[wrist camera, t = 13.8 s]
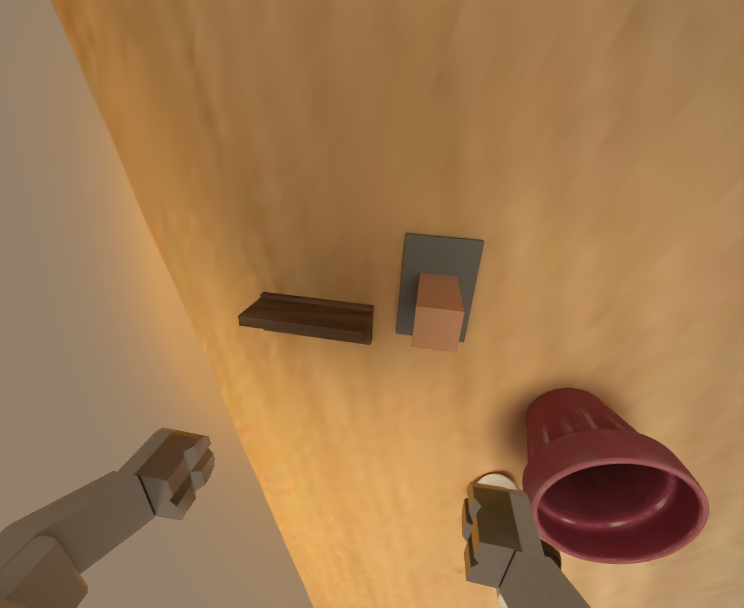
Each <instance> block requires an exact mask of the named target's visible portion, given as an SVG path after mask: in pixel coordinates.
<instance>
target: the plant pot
mask: <svg viewBox="0 0 744 608" xmlns="http://www.w3.org/2000/svg"><path fill="white" fill-rule="evenodd" d="M526 427H527V451H528V463H527V465H526V467H525V469H524V473H523V479H522V484H523V491H525V492H526V494H527V495H528V498H529V502H530V505H531V509H532V512H533V516H534V520H535V523H536V527H537V530H538V532H539V534H540V535H541V536H542V537H543V538H544V539H545V540H546V541H547V542H548V543H550V544H551V545H552V546H554V547H555V548H557V549H559V550H560V551H562V552H564V553H566V554H569V555H571V556H574V557H577V558H580V559H583V560H588V561H592V562H598V563H607V564H632V563H640V562H646V561H651V560H655V559H658V558H662V557H665V556H667V555H670V554H672V553H674V552H676V551H678V550H680V549H682V548H683V547H685V546H686V545H688V544H689V543H690V542H692V541H693V540H694V539H695V538H696V537H697V536H698V535H699V534H700V532H701V531H702V529H703V528H704V526H705V524H706V522H707V519H708V516H709V503H708V499H707V496H706V494H705V493H704V491H703V489H702V488H701V486H700V485H699V483H698V482H697V481H696V480H695V478H694V477H693V476H692V475H691V473H690V472H689V471H688V470H687V468H686V467H685V466H684V465H683V464H682V463H681V461H680V460H679V459H678V458H677V457H676V456H675V455H674V454H673V453H672V452H671V451H670V450H669V449H668V448H667V447H666V446H664V445H663V444H661V443H660V442H658V441H656V440H654V439H652V438H650V437H648V436H645V435H643V434H639V433H638V432H637V431H636V430H635V429H634V428H632V427H631V426H630V425H629V424H628V423H627V422H626V421H624V420H623V419H622V418H621V417H619V416H618V415H617V414H616V413H615V412H613V411H612V410H611V409H610V408H609V407H607V406H606V405H605V404H604V403H603V402H601V401H600V400H599V399H598V398H597V397H595V396H594V395H592V394H590V393H588V392H585V391H582V390H577V389H560V390H555V391H552V392H549V393H546V394H544V395H543V396H541V397H539V398H538V399H537V400H536V401H534V402H533V404H532V405H531V406H530V408H529V409H528V412H527V416H526Z"/></svg>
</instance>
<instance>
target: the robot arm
mask: <svg viewBox="0 0 744 608" xmlns="http://www.w3.org/2000/svg"><path fill="white" fill-rule="evenodd" d="M210 444H211V442H210V439H209V437H208V436H204V435H199V434H194V433H189V432H184V431H179V430H174V429H168V428H161V429H159V430H157V431H156V432H155V433H154V434H153V435H152V436H151V437H150V438H149V439H148V440H147V442H145V443H144V445H143V446H142V447H141V448H140V449H139V450H138V451H137V452H136V453H135V454H134V455H133V456H132V457H131V458H130V459H129V460H128V461H127V462H126V463H125V464H124V465H123V466H122V468H121V469H120V470H119V471H118V472H116V471H112V472H110V473H108V474H106V475H104V476H103V477H101V478H99V479H97V480H95V481H93V482H91V483H89V484H87V485H86V486H83V487H81V488H79V489H77V490H76V491H74V492H72V493H70V494H68V495H66V496H64V497H62V498H60V499H58V500H56V501H54V502H53V503H51V504H49V505H47V506H45V507H43V508H41V509H39V510H37V511H35V512H33V513H31V514H29V515H27V516H25V517H23V518H22V519H20V520H18V521H16V522H14V523H12V524H10V525H9V526H7V527H6V528H5V529H4V530H3V531H2V532H1V533H0V608H77V606H78V605H79V604H80V602H81V601H82V600H83V598H84V597H85V596H86V594H87V593H88V586H87V584H86V583H85V581H84V580H83V578H82V577H81V575H80V574H81V573H82V572H84V571H85V570H86V569H88V568H89V567H90V566H92V565H93V564H94V563H95V562H97V561H98V560H99V559H101V558H102V557H103V556H105V555H106V554H107V553H109V552H110V551H111V550H113V549H114V548H115V547H116V546H118V545H119V544H120V543H122V542H123V541H124V540H126V539H127V538H128V537H130V536H131V535H132V534H134V533H135V532H136V531H137V530H139V529H140V528H142V527H143V526H144V525H146V524H147V523H148V522H149V521H151V520H152V519H153V518H154V517H155V516H160V517H165V518H171V519H177V520H182V518H183V517H184V515H185V514H186V512H187V511H188V509H189V508H190V506H191V505H192V503H193V502H194V500H195V499H196V490H198V489H199V488H201V487H202V486H204V485H205V484H206V482H207V481H208V479H209V477H210V476H211V473H212V470H213V467H214V460H215V459H214V454H213V453H212V452H211V451H210V450H209V449H208V447H209V446H210ZM467 493H468V498H466V499H464V503H463V508H462V535H463V537H464V538H465V540H466V541H467V544H466V547H465V551H464V560H465V572H466V581H469V582H473V583H477V584H482V585H486V586H490V587H494V588H498V589H499V592H500V594H501V596H502V598H503V599H504V601H505V603H506V605H507V607H508V608H590V606H589V605H588V604H587V603H586V601H585V600H584V599H583V598H582V596H581V595H580V594H579V592H578V591H577V590H576V589H575V587H574V586H573V585H572V584H571V582H570V581H569V580H568V579H567V577H566V576H565V575H564V574H563V572H562V571H561V570H560V569H559V567H558V566H557V565H556V564H555V562H554V561H553V560H552V559H551V558H550V557H546V556H545V555H544V552H543V548H542V545H541V541H540V538H539V534H538V530H537V527H536V523H535V520H534V516H533V512H532V509H531V505H530V502H529V498H528V495H527V494H526V492H525V491H521V490H514V489H508V488H505V487H499V486H493V485H487V484H481V483H474V482H470V483H469V485H468V488H467Z"/></svg>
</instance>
